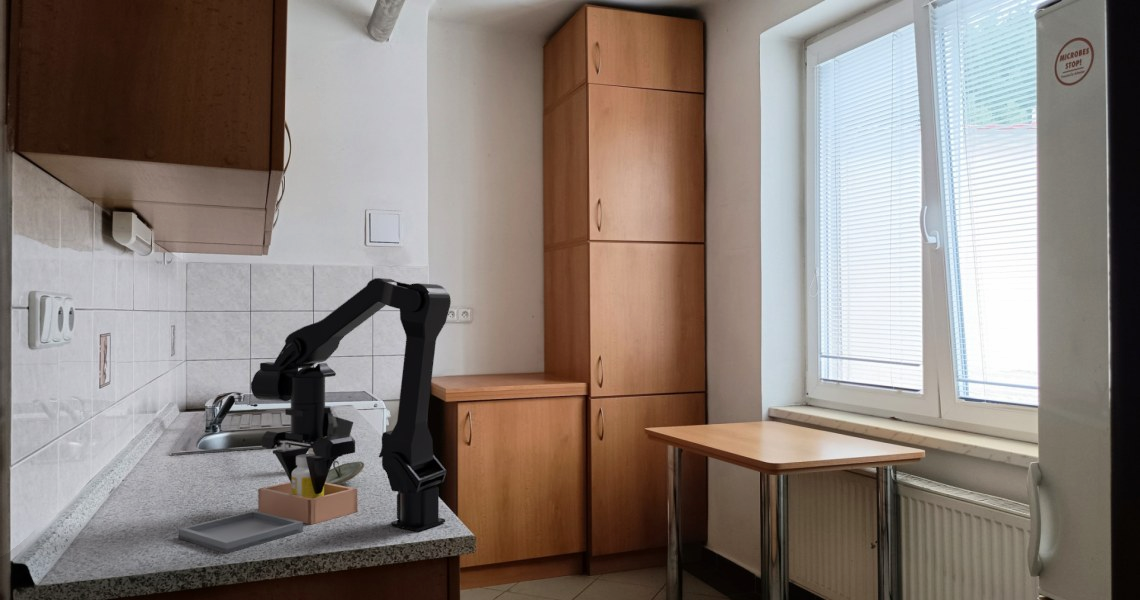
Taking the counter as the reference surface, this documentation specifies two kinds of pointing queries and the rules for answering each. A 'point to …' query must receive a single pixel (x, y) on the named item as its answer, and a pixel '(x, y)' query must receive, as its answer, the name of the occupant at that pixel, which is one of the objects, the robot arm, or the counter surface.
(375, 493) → the counter surface
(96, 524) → the counter surface
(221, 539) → the tray
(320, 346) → the robot arm
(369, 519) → the counter surface
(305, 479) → the supplement bottle
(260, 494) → the holder
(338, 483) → the lid
